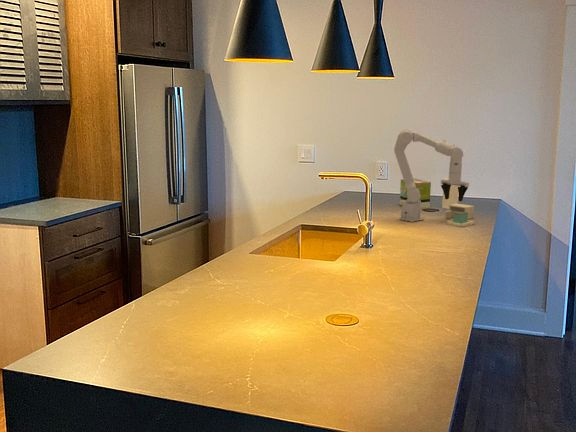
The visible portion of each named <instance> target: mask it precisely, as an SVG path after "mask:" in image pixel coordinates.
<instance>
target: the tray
mask: <svg viewBox="0 0 576 432" xmlns="http://www.w3.org/2000/svg"><path fill="white" fill-rule="evenodd" d="M445 224H446V225H448V226H454V227H458V228H464V227H468V226H473V225H475V220H470V219H468V222H466V223H462V224H461V223H455V222H453V219H451V220H450V219H449V220H446V221H445Z"/></svg>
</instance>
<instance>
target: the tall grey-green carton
mask: <svg viewBox="0 0 576 432" xmlns="http://www.w3.org/2000/svg"><path fill="white" fill-rule="evenodd" d="M452 218H453V217H452ZM452 220H453V222H455V223H461V224H462V223H466V222H468V220H469V219H468V213H466V212H457V213H454V218H453V219H452Z"/></svg>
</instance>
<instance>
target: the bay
mask: <svg viewBox="0 0 576 432" xmlns="http://www.w3.org/2000/svg"><path fill="white" fill-rule="evenodd" d="M457 212H466V213H468V220H470V219H474V215H475V206H474V205H469V204H464V203H463V204H462V203H458V204H452V205H449V209H448V210H446V211H445V210H444V215H443V216H444V217H443V218H444V219H451V218H454V213H457Z"/></svg>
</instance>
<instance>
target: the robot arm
mask: <svg viewBox="0 0 576 432" xmlns="http://www.w3.org/2000/svg"><path fill="white" fill-rule="evenodd" d="M396 138H397V139H396V142H395V145H394V148H393V151H394V154H395V157H396V160H397V163H398V166H399V170H400V172H401V175H402V179H404V182H405V185H406V188H407V197H408V199H407V200H406V203H404V204H403V205H401V208H400V209H401V210H400V217H399V220H400V221H406V222H410V223H411V222H418V221H423V220H424V218H422V217H421V209H420V208H421V201H420V200H419V199H420V197H421V195H420V191H419V189H418V188H417V187H416V185H415V183H414V180H413V179H414V177H413V175H412V172H411V168H410V165H409V163H408V160H407V159H408V158H407V156H406V154H405V151H406V149H407V146H408V145H409V144H410V143H411V142H412V143H416V142H417V143H418V142H420V143H423V144H425V145H428V146H430V147H433V148H434V151H435V152H437V153H440V154H442V155H444V156H445V157H450V158H449V159H450V161H449V169H448V178H449V180H444V179H441V180H440V187H441V189H442V193H443V192H444V195H445V199H449V192H450V187H451V185H456V186H459V187H458V202H463V200H464V197H465V193H466V192H467V190H468V189H469V186H470V185H469V184H470V183H469V182H467V181H466V182H465V181H462V165H463V162H462V161H463V157H464V152H463V150H462V148H460V147H458V146H456V145H455V144H450V143H448V142H447V141H446V140H445V139H443V140H442V139H440V140H438V141H437V140H436V139H432V138H431V137H428V136H426V135H424V134H422V133H419V132H417V131H413V130H409V129H403V130H401V131H400V133H399V134H398V135H397V137H396ZM450 183H451V184H450Z"/></svg>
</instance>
